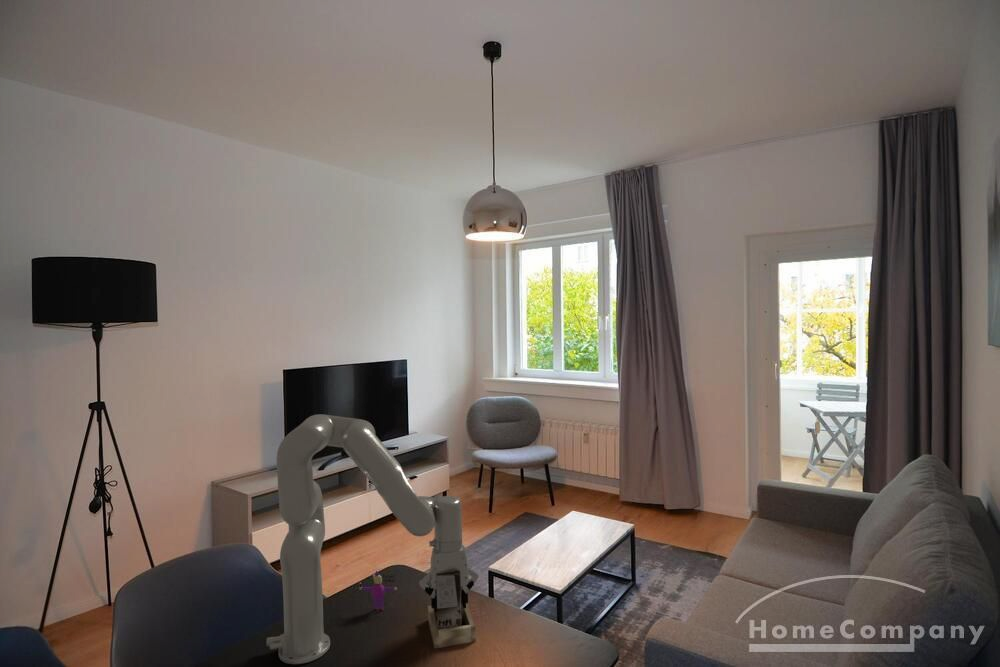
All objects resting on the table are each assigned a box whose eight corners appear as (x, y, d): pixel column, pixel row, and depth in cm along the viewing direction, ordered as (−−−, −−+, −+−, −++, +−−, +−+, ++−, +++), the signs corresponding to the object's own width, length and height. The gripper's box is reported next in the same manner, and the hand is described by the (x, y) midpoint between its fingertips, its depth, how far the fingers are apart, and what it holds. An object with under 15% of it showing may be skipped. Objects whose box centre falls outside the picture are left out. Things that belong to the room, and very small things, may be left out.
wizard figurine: (398, 608, 159) (397, 568, 158) (395, 614, 155) (394, 573, 155) (361, 607, 159) (360, 567, 159) (357, 613, 156) (356, 572, 156)
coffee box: (461, 635, 142) (459, 574, 142) (436, 635, 142) (435, 575, 142) (462, 616, 151) (461, 559, 151) (440, 616, 151) (438, 560, 151)
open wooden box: (434, 648, 138) (434, 633, 138) (428, 619, 152) (427, 605, 152) (475, 641, 141) (475, 626, 141) (466, 613, 155) (465, 600, 155)
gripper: (417, 553, 140) (419, 620, 141) (482, 545, 145) (483, 610, 145) (415, 541, 148) (416, 605, 148) (477, 534, 152) (478, 596, 152)
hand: (449, 607), depth 146 cm, fingers closed on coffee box, 7 cm apart
